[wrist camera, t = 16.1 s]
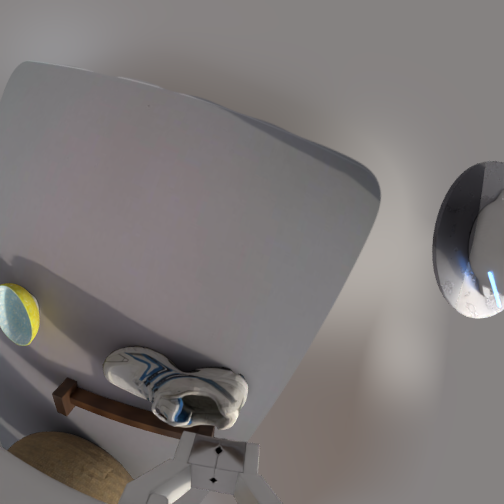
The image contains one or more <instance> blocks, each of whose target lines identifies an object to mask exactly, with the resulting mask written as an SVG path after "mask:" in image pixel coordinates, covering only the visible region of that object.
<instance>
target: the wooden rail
mask: <svg viewBox="0 0 504 504" xmlns="http://www.w3.org/2000/svg"><path fill="white" fill-rule="evenodd" d="M52 395H53V399H54V402H55V406H56V409H57V412H58V413H61V414H63V415H65V416H68V414H69V413H70V412H71V411H72V409H73V408H74V407H75V406H78V407H80V408H83V409H85V410H88V411H90V412H93V413H95V414H98V415H101V416H104V417H106V418H109V419H112V420H115V421H118V422H121V423H124V424H127V425H130V426H133V427H136V428H140V429H143V430H146V431H150V432H153V433H157V434H161V435H165V436H169V437H173V438H177V439H180V438H181V436H182V433H183V432H184V431H188V432H192V433H196V434H201V435H205V436H210V437H214V429H215V426H212V425H196V426H192V427H187V428H186V427H177V426H175V427H174V426H172V425H169V424H168V423H166V422H164V421H162V420H160V419H159V418H158V417H157V416H156V415H155V414H154V413H153V412H151V411H147V410H143V409H140V408H137V407H133V406H130V405H127V404H124V403H120V402H117V401H114V400H111V399H108V398H106V397H103V396H100V395H97V394H94V393H92V392H89V391H86V390H84V389H81V388H78V386H77V381H75V380H72V379H70V378H66V379H65V380H64V381H63V383H62V384H61V385H60V386H59V387H58V388H57V389H56V390H55V391H54V392H53V393H52ZM159 415H160V416H162V417H164V415H162V414H159ZM164 418H165V419H166V420H167V418H166V417H164Z"/></svg>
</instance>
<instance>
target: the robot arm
mask: <svg viewBox="0 0 504 504" xmlns="http://www.w3.org/2000/svg"><path fill="white" fill-rule="evenodd" d="M469 261H470V265H471V268H472V271H473V273H474V275H475V276H476V278H477V279H478V282H479V289H480V293H481V295H482V296H485V297H490V296H495V298H496V302H497V305H498V307H501V304H500V300H499V296H498V295H501V296H503V297H504V190H503V191H502V192H501V193H500V195H499V196H498V198H497V199H496V200H495V201H493V202H491V203H490V204H488V205H487V206H486V207H484V208H483V210H482V211H481V212H480V213H479V215H478V216H477V218H476V220H475V222H474V225H473V227H472V230H471V234H470V239H469ZM259 449H260V445H259V444H255V443H248V442H242V441H235V440H228V439H222V438H221V439H220V438H215V437H210V436H205V435H201V434H196V433H192V432H188V431H184V432H183V433H182V436H181V438H180V441H179V444H178V447H177V450H176V453H175V456H174V459H168V460H167V461H165V462H164V463H162V464H160V465H159V466H157V467H155V468H154V469H152V470H150V471H148V472H147V473H145V474H143V475H141V476H140V477H138V478H136V479H134V480H133V481H131V482H129V483H127V484H126V487H125V489H124V491H123V493H122V495H121V498H120V500H119V502H118V504H172V503H173V502H174V501H176V500H177V499H178V498H180V497H181V496H182V495H183V494H184V493H186V492H187V491H188V490H189V489H191V487H192V488H197V489H203V490H209V491H215V492H220V493H225V494H231V495H233V496H234V498H235V500H236V501H237V503H238V504H283V503H282V502H281V500H280V499H279V498H278V496H277V495H276V494H275V492H274V491H273V490H272V489H271V487H270V486H269V485H268V483H267V482H266V481H265V479H264V478H263V477H262V475H258V465H259ZM0 504H108V503H105V502H103V501H100V500H98V499H95V498H93V497H91V496H88V495H86V494H84V493H82V492H79V491H77V490H75V489H73V488H71V487H69V486H67V485H65V484H63V483H61V482H59V481H57V480H55V479H53V478H51V477H49V476H48V475H46V474H44V473H42V472H40V471H39V470H37V469H35V468H34V467H32V466H30V465H29V464H27V463H25V462H24V461H22V460H21V459H19V458H17V457H16V456H14V455H13V454H11V453H10V452H8V451H7V450H5V449H4V448H2V447H1V446H0Z"/></svg>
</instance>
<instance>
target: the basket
mask: <svg viewBox="0 0 504 504" xmlns="http://www.w3.org/2000/svg"><path fill="white" fill-rule="evenodd" d="M7 451H8V452H10V453H11V454H13V455H14V456H16V457H17V458H19V459H21V460H22V461H24V462H25V463H27V464H29V465H30V466H32V467H34V468H35V469H37V470H39V471H40V472H42V473H44V474H46V475H48V476H49V477H51V478H53V479H55V480H57V481H59V482H61V483H63V484H65V485H67V486H69V487H71V488H73V489H75V490H77V491H79V492H82V493H84V494H86V495H88V496H91V497H93V498H95V499H98V500H100V501H103V502H105V503H108V504H118V502H119V500H120V498H121V495H122V493H123V491H124V489H125V487H126V484H127V483H129V482H131V481H133V479H132V477H131V476H130V475H129V473H128V472H127V471H126V469H125V468H124V467H123V466H122V465H121V464H120V463H119V462H118V461H117V460H116V459H114V458H113V457H112V456H111V455H110V454H109V453H107V452H106V451H104V450H103V449H101V448H100V447H98V446H96V445H95V444H93V443H91V442H89V441H87V440H86V439H83V438H81V437H78V436H76V435H72V434H69V433H64V432H39V433H34V434H30V435H28V436H26V437H24V438H22V439H20V440H19V441H17V442H16V443H14V444H13V445H12V446H11V447H10V448H9V449H8V450H7Z"/></svg>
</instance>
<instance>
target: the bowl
mask: <svg viewBox="0 0 504 504" xmlns="http://www.w3.org/2000/svg"><path fill="white" fill-rule="evenodd" d="M0 327H1V329H2V330H3V332H4V333H5V334H6V336H7V337H8V338H9V339H10V340H11V341H13V342H14V343H16V344H17V345H20V346H26V345H28V344H30V342H31V341H32V340H33V339H34V337H35V335H36V333H37V331H38V328H39V306H38V303H37V300H36V299H35V297H34V296H33V295H32V294H30V293H29V292H28V291H27V290H26V289H24V288H23V287H21V286H19V285H17V284H12V283H5V284H1V285H0Z"/></svg>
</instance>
